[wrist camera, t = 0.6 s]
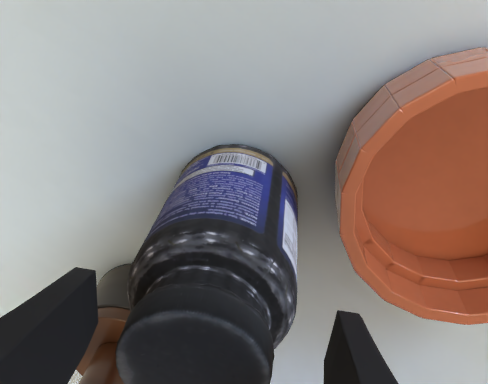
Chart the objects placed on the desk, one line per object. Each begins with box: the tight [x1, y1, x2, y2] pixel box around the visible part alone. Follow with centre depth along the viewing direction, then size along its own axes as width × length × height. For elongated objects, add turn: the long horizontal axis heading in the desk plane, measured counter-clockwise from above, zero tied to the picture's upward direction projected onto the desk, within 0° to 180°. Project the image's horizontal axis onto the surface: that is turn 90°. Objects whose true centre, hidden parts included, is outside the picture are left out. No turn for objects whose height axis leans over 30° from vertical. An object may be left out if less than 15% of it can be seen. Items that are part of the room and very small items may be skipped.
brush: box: [76, 264, 132, 384], centre depth 23 cm, size 6×6×9 cm
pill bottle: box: [115, 144, 298, 384], centre depth 18 cm, size 6×6×11 cm
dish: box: [335, 47, 488, 325], centre depth 19 cm, size 11×11×4 cm
